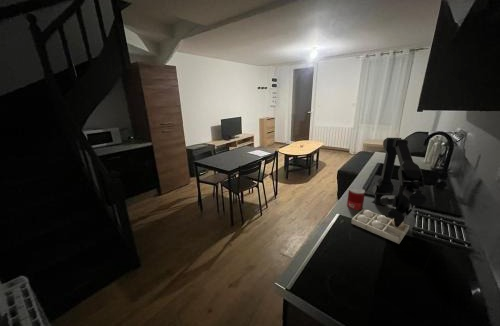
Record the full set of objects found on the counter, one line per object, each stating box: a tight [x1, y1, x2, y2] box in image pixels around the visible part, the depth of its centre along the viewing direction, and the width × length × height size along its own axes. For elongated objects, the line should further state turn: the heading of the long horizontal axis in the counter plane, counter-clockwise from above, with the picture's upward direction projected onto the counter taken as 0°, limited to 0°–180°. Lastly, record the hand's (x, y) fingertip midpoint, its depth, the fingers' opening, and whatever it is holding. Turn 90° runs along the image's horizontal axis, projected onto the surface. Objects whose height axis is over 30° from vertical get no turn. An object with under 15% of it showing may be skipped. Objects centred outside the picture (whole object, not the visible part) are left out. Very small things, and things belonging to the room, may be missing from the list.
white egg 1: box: [357, 215, 368, 224], centre depth 101 cm, size 5×5×5 cm
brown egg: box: [391, 218, 405, 227], centre depth 95 cm, size 5×5×5 cm
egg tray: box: [351, 208, 410, 245], centre depth 99 cm, size 14×20×3 cm
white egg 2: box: [363, 209, 374, 218], centre depth 105 cm, size 5×5×5 cm
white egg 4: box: [377, 214, 388, 224], centre depth 100 cm, size 5×5×5 cm
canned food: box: [346, 186, 366, 211], centre depth 115 cm, size 8×8×11 cm
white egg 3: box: [371, 220, 383, 230], centre depth 96 cm, size 5×5×5 cm
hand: (398, 224), depth 95 cm, fingers closed on brown egg, 4 cm apart
